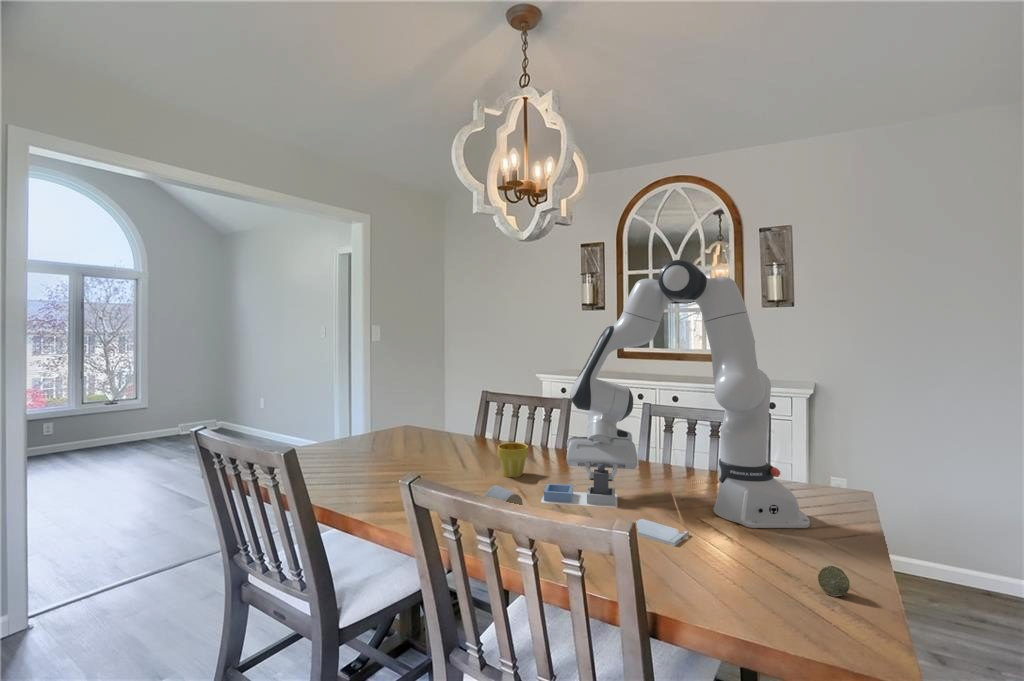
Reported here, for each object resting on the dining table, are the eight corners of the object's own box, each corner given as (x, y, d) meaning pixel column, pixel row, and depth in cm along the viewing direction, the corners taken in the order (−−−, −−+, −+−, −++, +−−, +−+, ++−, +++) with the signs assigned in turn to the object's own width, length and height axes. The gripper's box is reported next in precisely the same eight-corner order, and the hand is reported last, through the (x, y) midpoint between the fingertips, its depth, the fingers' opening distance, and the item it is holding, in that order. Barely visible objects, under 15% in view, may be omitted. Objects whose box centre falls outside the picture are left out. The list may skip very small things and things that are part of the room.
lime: (853, 600, 92) (853, 573, 92) (824, 598, 93) (824, 571, 93) (841, 588, 97) (842, 562, 97) (814, 586, 98) (814, 560, 98)
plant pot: (526, 479, 166) (526, 450, 165) (495, 478, 167) (494, 449, 167) (530, 471, 176) (529, 442, 176) (500, 469, 177) (500, 442, 177)
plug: (608, 497, 145) (608, 463, 145) (608, 502, 141) (608, 467, 141) (594, 497, 146) (594, 462, 146) (593, 501, 142) (593, 466, 142)
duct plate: (617, 497, 148) (617, 486, 148) (617, 511, 137) (617, 498, 137) (545, 493, 152) (545, 481, 152) (540, 506, 141) (540, 493, 141)
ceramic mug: (505, 525, 128) (505, 495, 127) (482, 517, 133) (483, 488, 133) (532, 515, 135) (533, 486, 135) (510, 507, 141) (510, 480, 141)
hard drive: (625, 527, 124) (674, 541, 115) (641, 517, 130) (689, 530, 122) (625, 534, 124) (674, 548, 115) (641, 524, 130) (689, 537, 122)
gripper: (566, 430, 152) (563, 472, 143) (636, 433, 148) (638, 476, 138) (568, 442, 156) (564, 483, 147) (636, 444, 152) (637, 487, 143)
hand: (601, 479), depth 143 cm, fingers closed on plug, 4 cm apart
